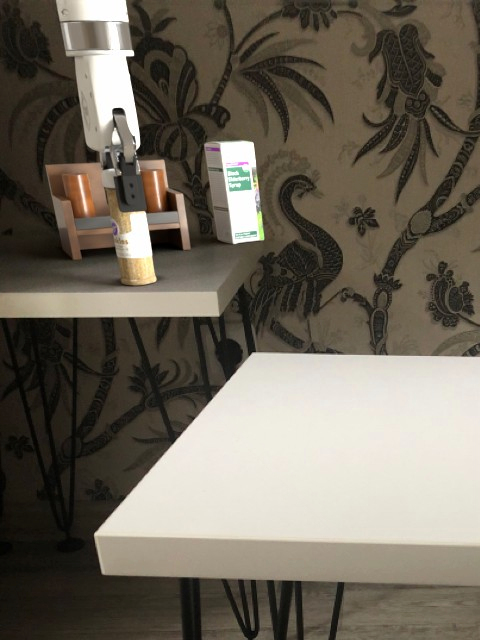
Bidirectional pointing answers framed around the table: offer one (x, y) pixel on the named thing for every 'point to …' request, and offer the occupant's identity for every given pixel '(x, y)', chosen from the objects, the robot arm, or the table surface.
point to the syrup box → (234, 191)
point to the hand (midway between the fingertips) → (126, 207)
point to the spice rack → (93, 211)
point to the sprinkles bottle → (129, 239)
